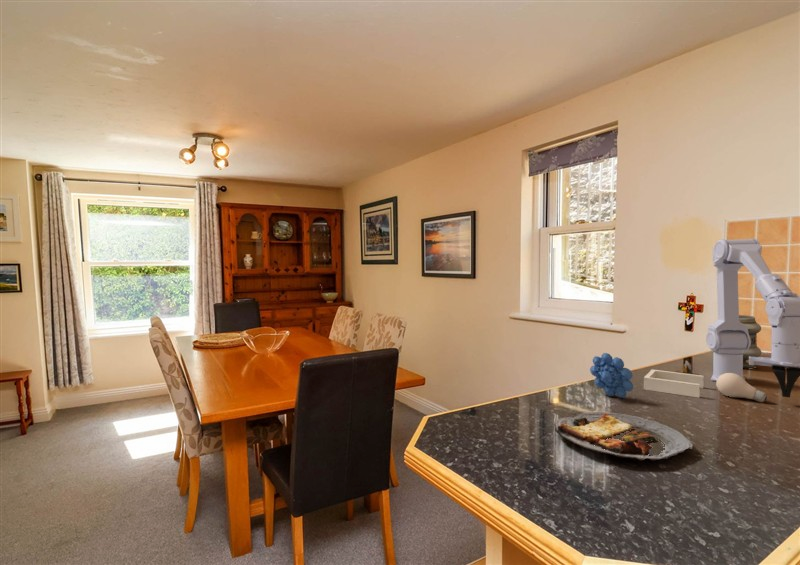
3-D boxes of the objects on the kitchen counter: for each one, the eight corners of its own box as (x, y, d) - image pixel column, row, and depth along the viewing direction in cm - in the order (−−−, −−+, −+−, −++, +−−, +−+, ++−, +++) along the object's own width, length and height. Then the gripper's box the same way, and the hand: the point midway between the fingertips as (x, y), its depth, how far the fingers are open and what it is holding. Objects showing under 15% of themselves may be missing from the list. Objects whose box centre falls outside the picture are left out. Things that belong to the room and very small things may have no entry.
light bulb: (774, 384, 107) (724, 365, 116) (766, 393, 104) (715, 373, 112) (766, 404, 110) (718, 385, 118) (758, 414, 106) (709, 393, 115)
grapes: (583, 394, 116) (582, 352, 116) (594, 390, 121) (594, 349, 120) (626, 404, 107) (626, 359, 107) (637, 399, 112) (637, 355, 111)
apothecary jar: (730, 370, 141) (730, 317, 140) (710, 362, 153) (710, 314, 152) (770, 370, 139) (770, 317, 138) (746, 362, 151) (746, 314, 150)
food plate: (634, 479, 69) (634, 458, 69) (531, 433, 90) (531, 417, 90) (713, 451, 81) (713, 433, 81) (605, 416, 102) (605, 402, 102)
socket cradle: (651, 380, 130) (651, 369, 130) (703, 387, 121) (703, 375, 121) (643, 389, 121) (643, 377, 121) (699, 397, 112) (699, 385, 112)
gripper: (748, 342, 106) (748, 394, 107) (829, 348, 97) (828, 405, 97) (749, 338, 112) (749, 388, 112) (825, 344, 102) (825, 398, 103)
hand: (786, 396), depth 105 cm, fingers closed
